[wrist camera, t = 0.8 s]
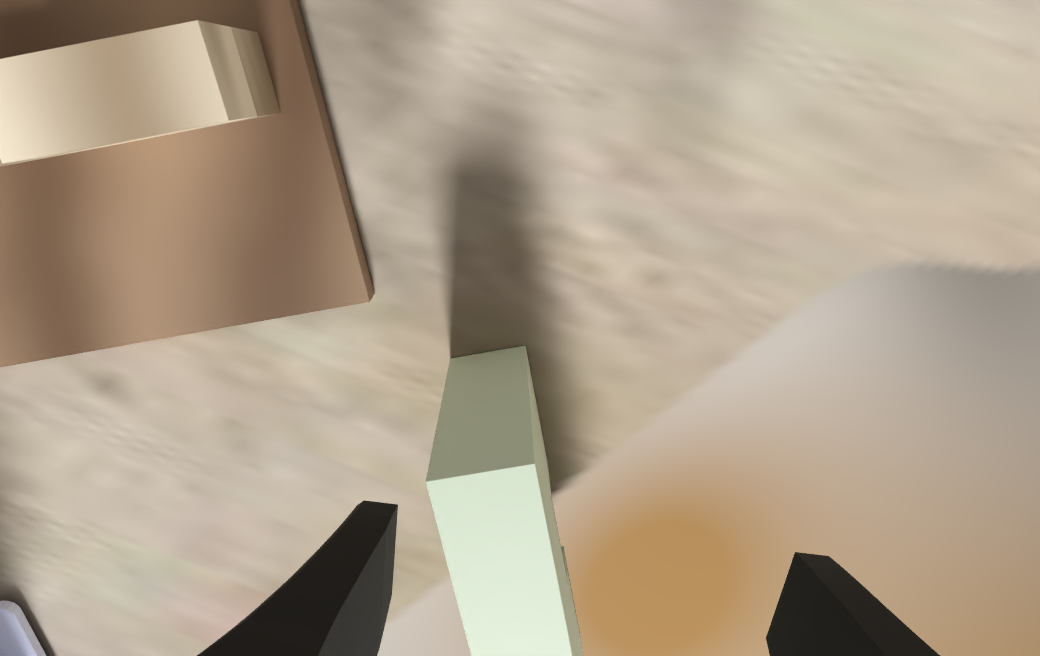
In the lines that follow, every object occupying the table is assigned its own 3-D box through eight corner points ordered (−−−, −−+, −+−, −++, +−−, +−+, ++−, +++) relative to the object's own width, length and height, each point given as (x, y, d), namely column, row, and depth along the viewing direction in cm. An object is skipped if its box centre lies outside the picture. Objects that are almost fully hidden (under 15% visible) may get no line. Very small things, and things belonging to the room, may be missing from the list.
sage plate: (580, 640, 25) (607, 837, 19) (517, 650, 25) (522, 849, 19) (525, 345, 21) (534, 463, 15) (450, 358, 21) (426, 481, 15)
